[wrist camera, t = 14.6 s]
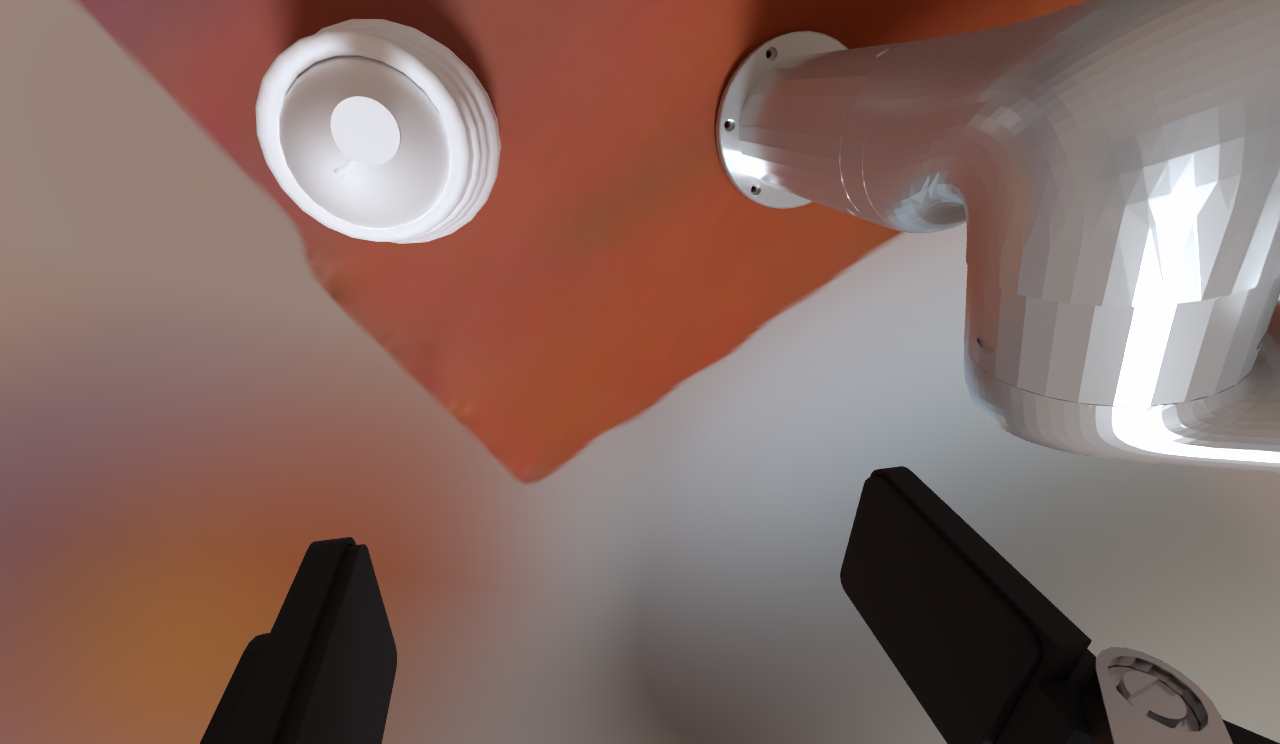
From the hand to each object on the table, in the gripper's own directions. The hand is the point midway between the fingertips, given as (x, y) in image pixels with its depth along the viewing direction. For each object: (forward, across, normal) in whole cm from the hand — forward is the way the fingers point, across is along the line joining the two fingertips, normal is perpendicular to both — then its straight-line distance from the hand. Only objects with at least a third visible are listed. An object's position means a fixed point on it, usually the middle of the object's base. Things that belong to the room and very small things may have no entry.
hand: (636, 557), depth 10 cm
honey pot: (+37, +9, -5) cm, 38 cm away
